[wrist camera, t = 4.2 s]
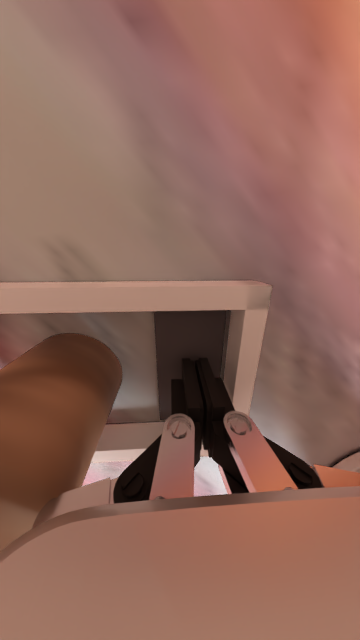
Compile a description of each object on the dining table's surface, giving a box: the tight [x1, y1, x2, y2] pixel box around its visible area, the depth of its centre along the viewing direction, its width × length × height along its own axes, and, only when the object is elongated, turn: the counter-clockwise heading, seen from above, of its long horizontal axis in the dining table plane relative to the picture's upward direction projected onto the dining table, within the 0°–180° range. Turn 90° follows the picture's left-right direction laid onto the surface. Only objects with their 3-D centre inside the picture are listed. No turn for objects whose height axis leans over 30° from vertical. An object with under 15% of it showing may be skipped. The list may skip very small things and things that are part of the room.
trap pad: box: [154, 310, 226, 420], centre depth 12 cm, size 4×9×1 cm, turn 0°
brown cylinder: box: [0, 333, 122, 552], centre depth 9 cm, size 6×6×7 cm
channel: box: [0, 280, 273, 463], centre depth 11 cm, size 20×12×2 cm, turn 90°
